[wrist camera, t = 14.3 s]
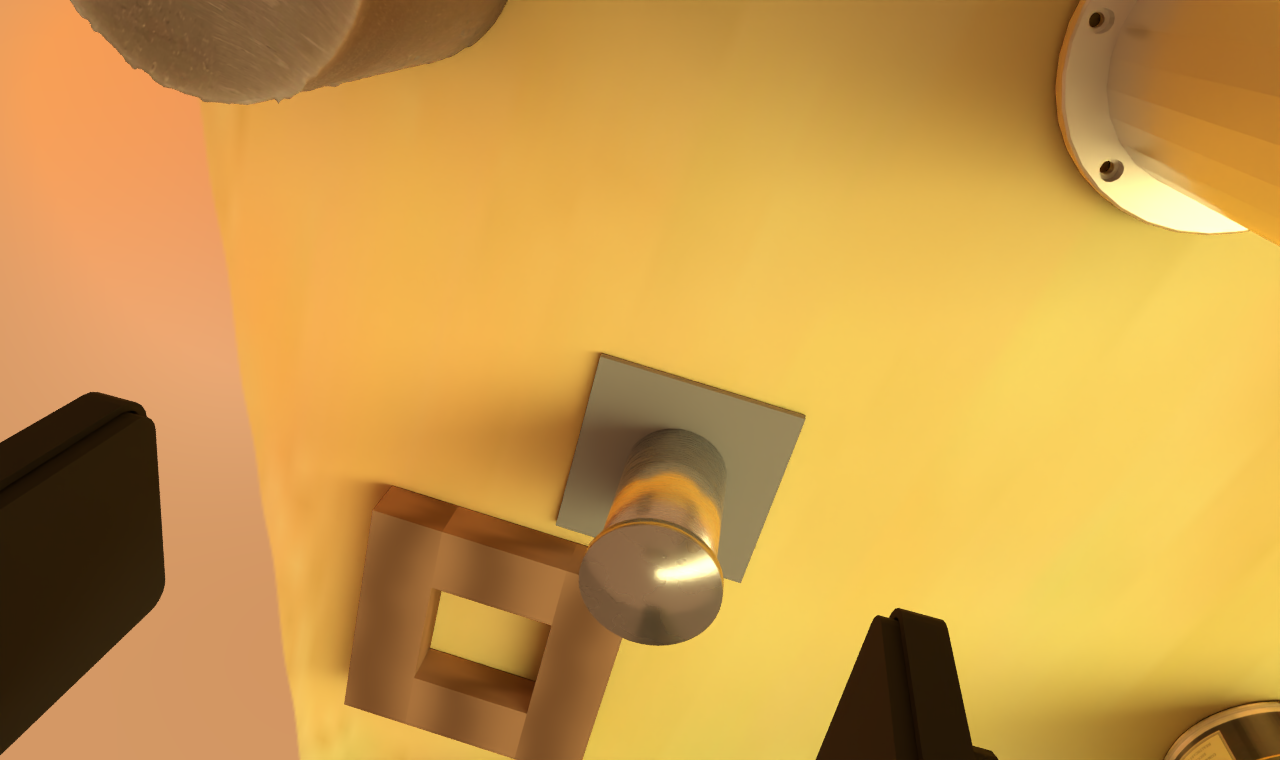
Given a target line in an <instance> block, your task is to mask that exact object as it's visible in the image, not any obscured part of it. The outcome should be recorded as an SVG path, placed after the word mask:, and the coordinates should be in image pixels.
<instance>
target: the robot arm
mask: <svg viewBox="0 0 1280 760" xmlns="http://www.w3.org/2000/svg"><path fill="white" fill-rule="evenodd" d="M1096 12H1097V13H1099V14H1100V17H1101V20H1100V23H1099V24H1098V25H1097V26H1095V27H1091V26H1090V25H1089V18H1090V17H1091V15H1092V14H1094V13H1096ZM1055 93H1056V104H1057V116H1058V123H1059V126H1060V129H1061V132H1062V136H1063V139H1064V142H1065V145H1066V149H1067V151H1068V153H1069V154H1070V156H1071V158H1072V159H1073V161H1074V163H1075V165H1076V166H1077V168H1078V170H1079V172H1080V173H1081V175H1082V176H1083V177H1084V178H1085V179H1086V180H1087V181H1088V182H1089V184H1090V185H1091V186H1092V187H1093V188H1094V189H1095V190H1096V191H1097V192H1098V193H1099V194H1100V195H1101V196H1102V197H1104V198H1105V199H1106V200H1108V201H1109V202H1110V203H1112V204H1113V205H1114V206H1116V207H1117V208H1118V209H1120V210H1122V211H1124V212H1125V213H1127V214H1129V215H1131V216H1133V217H1135V218H1137V219H1139V220H1140V221H1142V222H1144V223H1147V224H1150V225H1153V226H1157V227H1160V228H1164V229H1167V230H1170V231H1174V232H1181V233H1191V234H1201V235H1216V234H1230V233H1242V232H1246V231H1252V232H1254V233H1256V234H1258V235H1260V236H1262V237H1263V238H1265V239H1267V240H1269V241H1271V242H1273V243H1275V244H1276V245H1278V246H1280V0H1080V1H1079V3H1078V5H1077V7H1076V9H1075V11H1074V13H1073V15H1072V17H1071V19H1070V21H1069V24H1068V28H1067V31H1066V34H1065V38H1064V41H1063V44H1062V48H1061V51H1060V54H1059V60H1058V69H1057V78H1056V87H1055ZM1105 161H1110V168H1109V169H1108V170H1107V171H1106V172H1100V171H1099V170H1100V167H1101V165H1102V164H1103V163H1104V162H1105ZM155 430H156V429H155V425H154V423H153V421H152V420H151V419H149V418H148V417H147V416H146V411H145V410H144V408H143V407H142V405H140V404H138V403H136V402H132V401H129V400H125V399H121V398H118V397H114V396H110V395H107V394H102V393H99V392H90V393H87V394H85V395H83V396H81V397H79V398H77V399H76V400H74V401H72V402H70V403H69V404H67V405H65V406H63V407H62V408H60V409H58V410H56V411H55V412H53V413H51V414H49V415H48V416H46V417H44V418H43V419H41V420H39V421H37V422H36V423H34V424H32V425H31V426H29V427H27V428H25V429H24V430H22V431H20V432H18V433H17V434H15V435H13V436H11V437H9V438H8V439H6V440H4V441H2V442H1V443H0V755H1V754H2V753H3V752H4V751H5V750H6V749H7V748H8V747H9V746H10V745H11V744H13V743H14V742H15V741H16V740H17V739H18V738H19V737H20V736H21V735H22V734H23V733H24V732H25V731H26V730H27V729H28V728H29V727H30V726H31V725H32V724H33V723H34V722H35V721H36V720H38V719H39V718H40V717H41V716H42V715H43V714H44V713H45V712H46V711H47V710H48V709H49V708H50V707H51V706H52V705H53V704H54V703H55V702H56V701H57V700H58V699H59V698H60V697H61V696H63V694H65V693H66V692H67V691H68V690H69V689H70V688H71V687H72V686H73V685H74V684H75V683H76V682H77V681H78V680H79V679H80V678H81V677H82V676H83V675H84V674H85V673H86V672H88V671H89V670H90V668H92V667H93V666H94V665H95V664H96V663H97V662H98V661H99V660H100V659H101V658H102V657H103V656H104V655H105V654H106V653H107V652H108V651H109V650H110V649H111V648H112V647H114V645H116V643H118V642H119V641H120V640H121V639H122V638H123V637H124V636H125V635H126V634H127V633H128V632H129V631H130V630H131V629H132V628H133V627H134V626H135V625H136V624H137V623H139V622H140V621H141V620H142V619H143V618H144V617H145V616H146V615H147V614H148V613H149V612H150V611H151V610H152V609H153V608H154V607H155V605H156V604H157V602H158V601H159V599H160V597H161V595H162V593H163V589H164V586H165V569H164V553H163V539H162V522H161V508H160V491H159V475H158V461H157V444H156V431H155ZM816 760H998V758H997V757H996V756H995V755H994V753H993V752H992V751H990V750H986V749H982V748H979V747H975V746H972V742H971V737H970V732H969V727H968V723H967V718H966V713H965V709H964V704H963V699H962V694H961V690H960V685H959V680H958V675H957V671H956V666H955V661H954V657H953V652H952V647H951V642H950V638H949V633H948V628H947V626H946V623H945V622H944V621H943V620H941V619H937V618H933V617H930V616H926V615H922V614H919V613H915V612H911V611H908V610H904V609H900V608H897V609H895V610H894V611H893V612H892V613H891V615H890V617H889V618H887V617H883V616H879V615H877V616H876V617H875V618H874V619H873V621H872V623H871V626H870V628H869V630H868V633H867V635H866V638H865V640H864V643H863V645H862V648H861V650H860V653H859V655H858V657H857V660H856V662H855V665H854V667H853V670H852V672H851V675H850V677H849V680H848V682H847V684H846V687H845V689H844V692H843V694H842V697H841V699H840V702H839V704H838V706H837V709H836V711H835V714H834V716H833V719H832V721H831V724H830V726H829V729H828V731H827V733H826V736H825V738H824V741H823V743H822V746H821V748H820V751H819V753H818V756H817V758H816Z"/></svg>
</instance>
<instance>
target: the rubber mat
mask: <svg viewBox="0 0 1280 760" xmlns="http://www.w3.org/2000/svg"><path fill="white" fill-rule="evenodd" d="M804 421H805V415H802V414H799V413H796V412H793V411H789V410H786V409H783V408H780V407H776V406H773V405H770V404H766V403H763V402H760V401H757V400H753V399H750V398H747V397H744V396H740V395H737V394H734V393H730V392H727V391H724V390H721V389H717V388H714V387H711V386H708V385H704V384H701V383H698V382H694V381H691V380H688V379H685V378H681V377H678V376H675V375H672V374H668V373H665V372H662V371H658V370H655V369H652V368H649V367H645V366H642V365H639V364H636V363H632V362H629V361H626V360H622V359H619V358H616V357H613V356H609V355H606V354H603V353H602V354H601V356H600V359H599V363H598V367H597V371H596V375H595V378H594V382H593V386H592V390H591V393H590V397H589V401H588V405H587V409H586V412H585V416H584V420H583V424H582V428H581V431H580V435H579V439H578V443H577V447H576V450H575V454H574V458H573V462H572V466H571V469H570V473H569V477H568V481H567V485H566V488H565V492H564V496H563V500H562V503H561V507H560V511H559V515H558V519H557V522H556V526H560V527H563V528H566V529H569V530H572V531H576V532H579V533H582V534H585V535H588V536H592V537H596V536H597V535H598V534H599V533H601V532H602V531H603V529H604V526H605V523H606V520H607V518H608V515H609V512H610V509H611V506H612V503H613V500H614V497H615V494H616V491H617V488H618V485H619V482H620V479H621V476H622V473H623V470H624V468H625V465H626V462H627V459H628V456H629V454H630V452H631V450H632V448H633V447H634V446H635V444H636V443H637V442H638V441H639V440H641V439H642V438H643V437H645V436H646V435H648V434H650V433H652V432H655V431H658V430H663V429H683V430H687V431H691V432H694V433H696V434H698V435H700V436H702V437H704V438H705V439H707V440H708V441H709V442H711V443H712V444H713V445H714V446H715V447H716V448H717V450H718V451H719V452H720V454H721V456H722V458H723V460H724V462H725V465H726V470H727V482H726V490H725V498H724V506H723V514H722V522H721V530H720V538H719V546H718V554H717V559H718V561H719V563H720V566H721V569H722V573H723V578H726V579H729V580H732V581H736V582H739V583H741V581H742V578H743V576H744V573H745V571H746V568H747V566H748V563H749V561H750V558H751V556H752V553H753V551H754V548H755V546H756V543H757V540H758V538H759V535H760V533H761V530H762V528H763V525H764V523H765V520H766V518H767V515H768V513H769V510H770V508H771V505H772V502H773V500H774V497H775V495H776V492H777V490H778V487H779V485H780V482H781V480H782V477H783V475H784V472H785V470H786V467H787V464H788V462H789V459H790V457H791V454H792V452H793V449H794V447H795V444H796V442H797V439H798V437H799V434H800V432H801V429H802V426H803V424H804Z"/></svg>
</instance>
